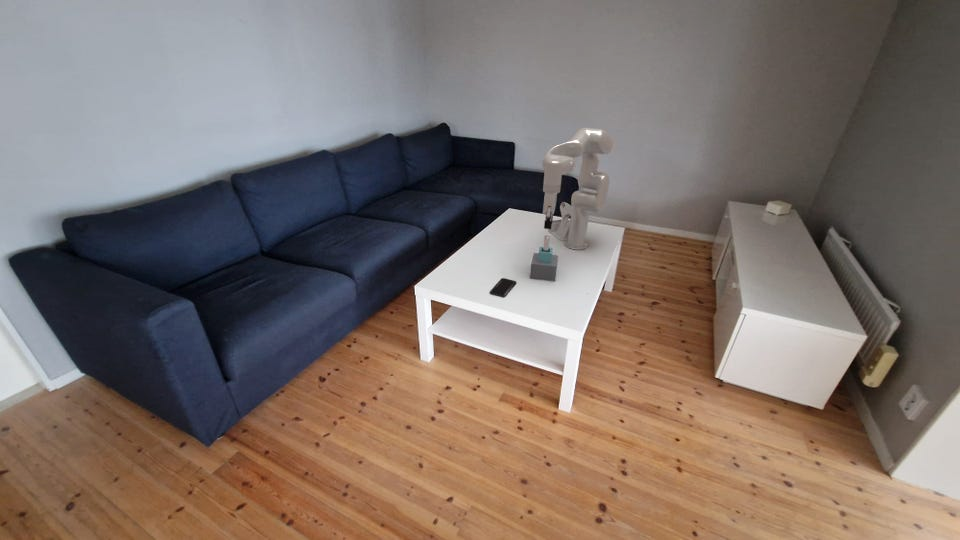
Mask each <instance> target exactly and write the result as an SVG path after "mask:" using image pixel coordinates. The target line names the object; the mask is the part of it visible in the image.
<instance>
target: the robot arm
mask: <svg viewBox="0 0 960 540" xmlns="http://www.w3.org/2000/svg"><path fill="white" fill-rule="evenodd" d="M613 141H614V140H613V138H612V136H611V135H610V134H609V133H608V132H607V131H606V130H604V129H601V128H592V127H582V128H580V129H579V130H578V131H576V132H575V134H574V135H573V136H572V137H571V138H570V140H569V141H566V142H564V143H561V144H558V145H555V146H553V147H552V148H550V149H549V150H548V151H547V153H546V154H545V155H544V156H543V159H542V162H541V165H542V169H543V170H544V176H543V186H542V187H543V188H542V192H543V193H544V199H543V207H542V214H543V215H545V218H544V224H543V225H544V226H543V229H545V230H546V229H547V230H549V229H551V225H552V221H553V220H554V219H553V218H554V213H555V211H556V205H557V197H558V194H560V192H561V185H562V176H563V175H568V174H571V173H572V172H573V170H574V169H575V167H576V162H575V160H574V159H575V158H578V157H581V166H580V169H579V173H578V180H577V184H578V186H579V187H580V188H583V189H586V190H582V189H581V190H576V191H574V192H573V193H572V194H571V199H570V200H571V201H570V202H571V204H570V205H571V206H572V211H571V216H570V219H571V220H570V219H569V220H570V228H569V236H568V240H567V241H564V246H565V247H566V248H568V249H572V250H575V251H577V250H579V251H581V250H586V249H587V248H588V243H587V242H586V239H587V238H586V237H587V232H588V226H589V225H588V224H589V217H590V216H589V212H588V211H590V212H595V213H600V212H602V210H603V209H604V208H605V204H606V200H607V196H608V191H609V187H610V182H611V181H610V176H609V174H608V173H607V172H602V171H598V168H599V162H600V160H599V157H598V154H599V155H608V154H610V153H611V151H612V150H613V148H614V142H613ZM587 190H591V191H587ZM592 191H596V192H592Z"/></svg>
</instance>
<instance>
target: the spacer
mask: <svg viewBox="0 0 960 540" xmlns="http://www.w3.org/2000/svg"><path fill="white" fill-rule="evenodd" d="M543 248H544V246H539V249H538V252H537V253H538V262H545V263H551V261H552V255H553V253H554V252H553V251H554V248H553V247H549V249H548V252H543Z"/></svg>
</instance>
